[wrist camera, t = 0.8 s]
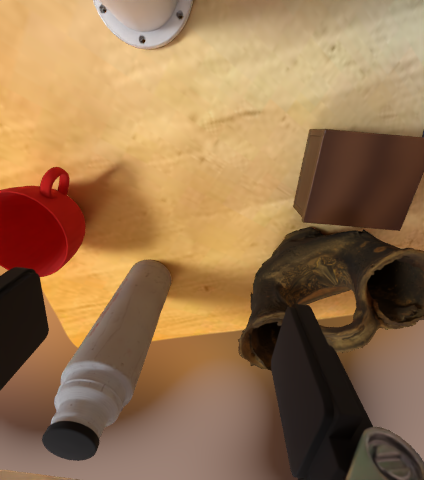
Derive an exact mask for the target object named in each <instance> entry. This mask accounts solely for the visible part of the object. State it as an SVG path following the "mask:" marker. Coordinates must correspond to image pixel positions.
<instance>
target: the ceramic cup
mask: <svg viewBox="0 0 424 480" xmlns="http://www.w3.org/2000/svg"><path fill="white" fill-rule="evenodd" d="M59 176H60V180H59V187H58V190H55V189H52V185H53V183H54V181H55V180H56V179H57V177H59ZM68 187H69V175H68V173H67V172H66V171H65V170H63V169H61V168H59V167H53V168H51V169H49V170H48V171H47V172H46V173H45V175H44V176H43V178H42V181H41V184H40V186H24V187H15V188H8V189H3V190H0V266H2V267H4V268H5V269H7V270H10V269H12V268H14V267H22V268H30V269H34V270H35V272H36V273H37V274H38V275H39V277H44V276H48V275H51V274H53V273H55V272H56V271H58V270H59V269H61V268H62V267H63V266H64V265H65V264H66V263H67V262H68V261H69V260H70V259H71V258H72V257H73V256H74V254H75V253H76V252H77V250H78V249H79V247H80V245H81V244H82V241H83V238H84V235H85V227H86V226H85V219H84V216H83V213H82V211H81V209H80V208H79V206H78V205H77V204H76V203H75V202H74V201H73V200H72V199H71V198H70V197H68V196H67V192H68Z"/></svg>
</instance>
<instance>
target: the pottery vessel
mask: <svg viewBox="0 0 424 480" xmlns="http://www.w3.org/2000/svg"><path fill="white" fill-rule="evenodd" d="M349 290H352V291H353V292H354V295H355V298H356V307H357V308H356V310H355V313H354V315H353V322H352V323H351V324H349V325H346V326H343V327H324V326H321V325H319V326H320V328H321V330H322V332H323V334H324V336H325V338H326V340H327V342H328V344H329V345H331V346H332V347H333V348H334V350H335V351H336V352H342V353H343V352H349V351H352V350H355V349H359V348H362V347H363V346H365V345H366V344H367V343H369V341H370V340H371V339H372V337H373V335H374V334H375V332H376V330H377V329H379V328H385V329H387V330H388V329H398V328H403V327H409V326H413V325H415V324H416V322H418V321H419V320H424V251H422V250H415V249H413V248H405V249H400V248H398V247H395V246H393V245H390V244H388V243H385V242H382V241H380V240H379V239H377V238H376V237H374V236H373V235H371V234H370V233H368V232H366V231H365V230H364V229H363V231H362V232H360V231H347V232H341V233H336V234H331V235H327V236H326V235H322V234H321V233H320V231H318V230H316V229H314V228H312V227H308V228H305V229H300V230H299V231H297V230H296V231H294V232H292V233H289V234H287V235H286V237H285V239H284V240H283V241H282V243H281V244H280V245H279V247H278V248H277V249H276V250H275V251H274V252H273V254H272V257H271V258H269V259H268V260H267V261H266V262H264V263H263V264H262V267H261V268H260V269H259V270H258V272H257V273H256V276H255V280H254V283H253V294H252V292H251V294H250V295H251V310H252V313H251V316H250V318H249V322H248V324H247V327H246V329H245V331H244V330H243V331H242V332H243V334H242V335H241V338H240V339H239V354H241V357H242V358H244V359H247V360H248V361H249V362H250V363H251V366H253V365H255V366H258V367H260V368H261V369H268V370H271V359H272V355H273V352H274V349H275V345H276V342H277V339H278V335H279V332H280V328H281V325H282V322H283V318H284V315H285V312H286V309H287V307H291V306H292V305H293V304H301V305H307V304H309V303H312V302H314V301H317V300H320V299H323V298H326V297H329V296H332V295H336V294H339V293H342V292H346V291H349ZM271 371H272V370H271Z"/></svg>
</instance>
